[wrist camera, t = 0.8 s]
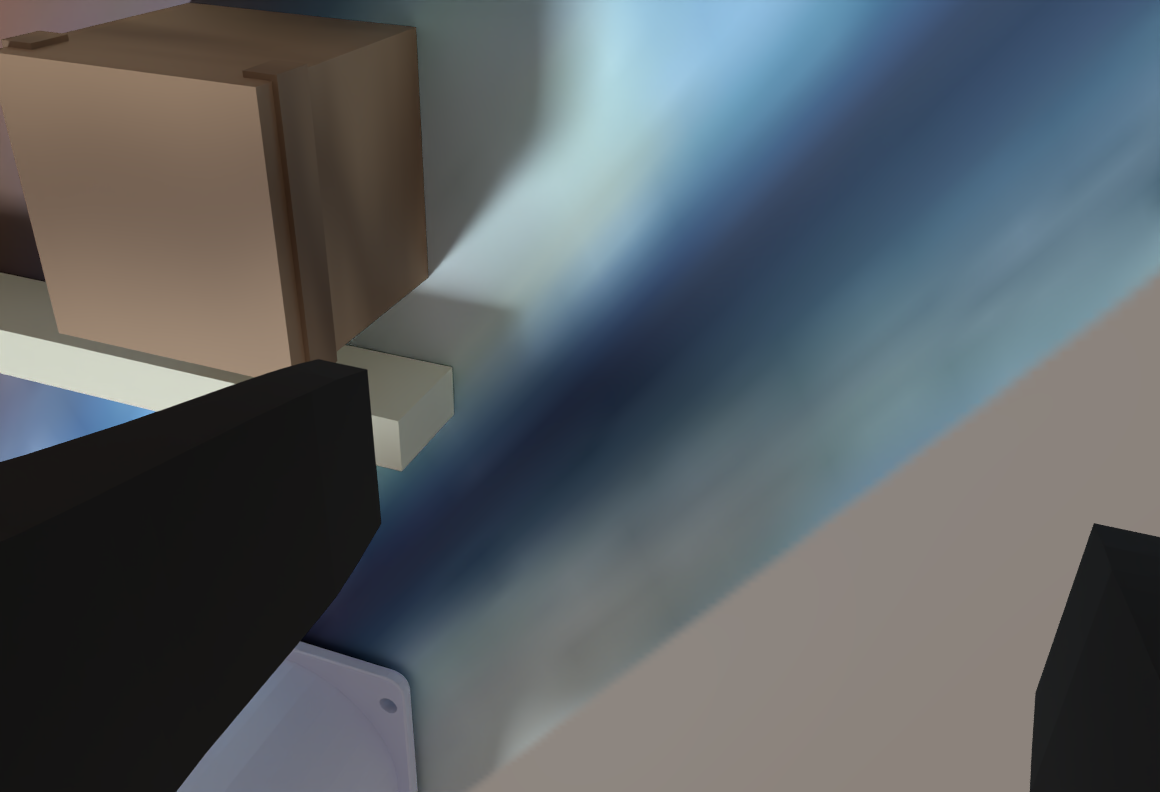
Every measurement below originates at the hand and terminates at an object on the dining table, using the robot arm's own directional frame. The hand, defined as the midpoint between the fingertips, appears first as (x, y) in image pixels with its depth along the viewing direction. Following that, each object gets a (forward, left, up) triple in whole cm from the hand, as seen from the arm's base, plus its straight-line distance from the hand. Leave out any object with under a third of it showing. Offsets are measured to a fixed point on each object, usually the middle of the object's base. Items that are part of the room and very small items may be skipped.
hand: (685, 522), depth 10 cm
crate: (0, +10, -10) cm, 14 cm away
